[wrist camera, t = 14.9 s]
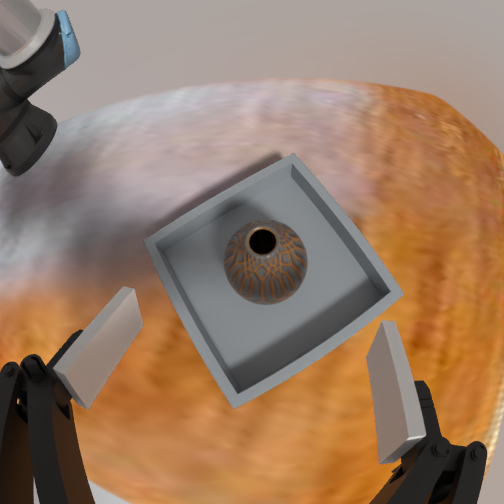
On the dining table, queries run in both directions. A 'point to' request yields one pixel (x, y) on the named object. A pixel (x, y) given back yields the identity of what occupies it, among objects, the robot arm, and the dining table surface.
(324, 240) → the box
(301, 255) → the vase
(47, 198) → the dining table surface
